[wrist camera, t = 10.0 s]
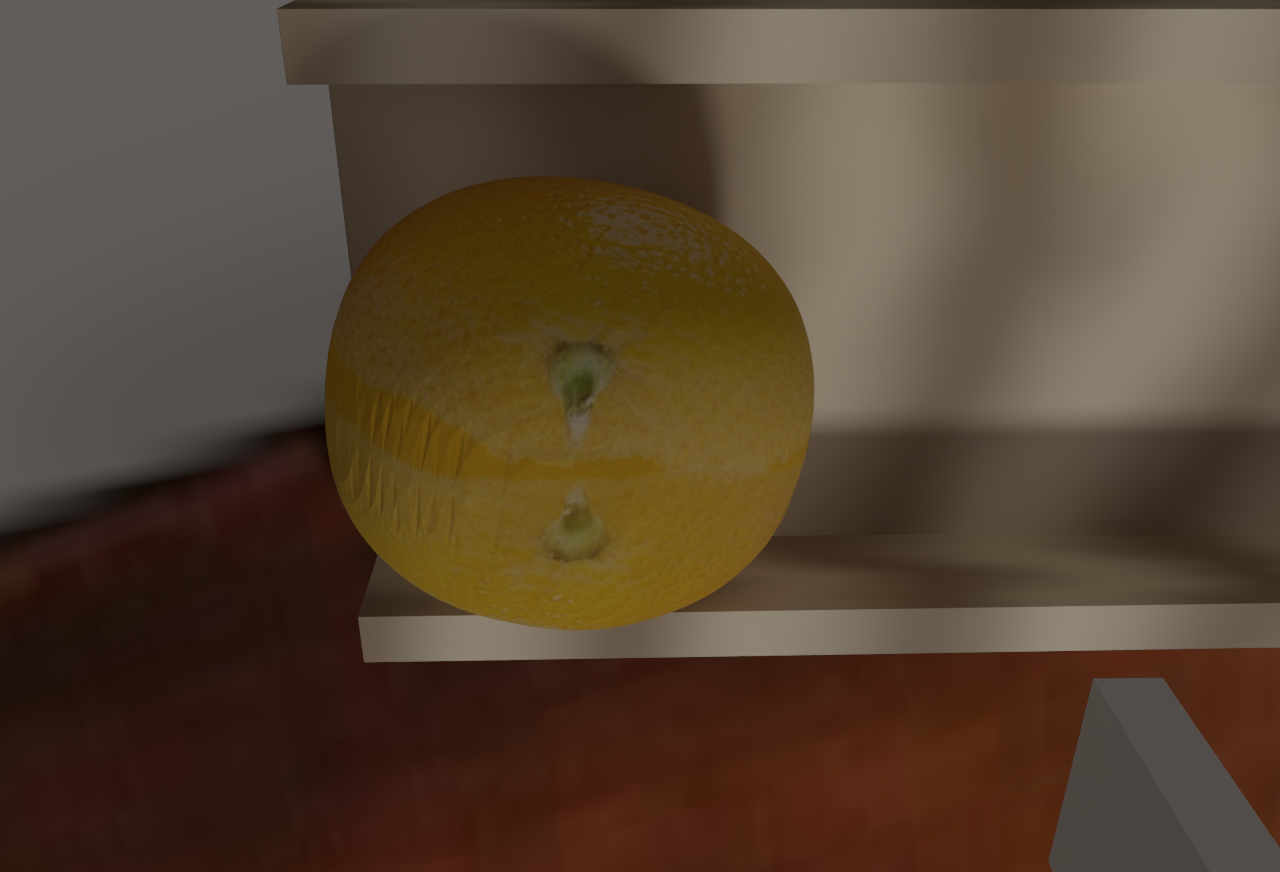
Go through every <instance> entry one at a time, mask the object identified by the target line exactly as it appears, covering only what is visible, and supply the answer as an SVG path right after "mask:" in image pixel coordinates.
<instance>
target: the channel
mask: <svg viewBox="0 0 1280 872" xmlns="http://www.w3.org/2000/svg"><path fill="white" fill-rule="evenodd" d="M277 12H278V20H279V28H280V36H281V43H282V50H283V58H284V66H285V73H286V81H287V84H329V91H330V101H331V109H332V117H333V125H334V135H335V142H336V152H337V159H338V168H339V177H340V185H341V194H342V203H343V211H344V220H345V228H346V237H347V245H348V253H349V262H350V270H351V279H352V277H353V275H354V273H355V271H356V270H357V268H358V266H359V265H360V263H361V262H362V260H363V259H364V257H365V256H366V255H367V253H368V252H369V251H370V249H371V248H372V247H373V246H374V244H375V243H376V242H377V241H378V240H379V239H380V238H381V237H382V236H383V235H384V234H385V233H386V232H387V231H388V230H389V229H390V228H392V227H393V226H394V225H395V224H396V223H398V222H399V221H400V220H402V219H403V218H404V217H406V216H407V215H409V214H410V213H412V212H413V211H415V210H416V209H418V208H420V207H421V206H423V205H425V204H427V203H429V202H431V201H432V200H434V199H437V198H439V197H441V196H443V195H445V194H448V193H450V192H453V191H456V190H458V189H462V188H465V187H468V186H471V185H475V184H479V183H484V182H489V181H494V180H500V179H507V178H514V177H531V176H554V177H573V178H583V179H592V180H599V181H604V182H610V183H615V184H620V185H625V186H629V187H633V188H637V189H640V190H644V191H648V192H651V193H655V194H658V195H661V196H664V197H667V198H669V199H672V200H674V201H677V202H680V203H682V204H685V205H687V206H689V207H691V208H694V209H696V210H698V211H700V212H702V213H704V214H706V215H708V216H710V217H712V218H714V219H715V220H717V221H719V222H720V223H722V224H724V225H725V226H727V227H728V228H730V229H731V230H733V231H734V232H736V233H737V234H738V235H740V236H741V237H742V238H744V239H745V240H746V241H747V242H749V243H750V244H751V245H752V246H753V247H754V248H755V249H756V250H757V251H758V252H759V253H760V254H761V255H762V256H763V257H764V258H765V259H766V260H767V261H768V262H769V263H770V264H771V266H772V267H773V268H774V269H775V271H776V272H777V273H778V274H779V276H780V277H781V279H782V280H783V282H784V283H785V285H786V286H787V288H788V290H789V291H790V293H791V295H792V297H793V299H794V300H795V302H796V304H797V307H798V309H799V312H800V314H801V317H802V320H803V323H804V326H805V329H806V332H807V336H808V340H809V344H810V349H811V355H812V362H813V371H814V411H813V417H812V426H811V432H810V437H809V443H808V447H807V451H806V456H805V460H804V465H803V467H802V470H801V473H800V476H799V479H798V481H797V484H796V487H795V490H794V492H793V495H792V498H791V501H790V503H789V506H788V508H787V510H786V512H785V515H784V517H783V519H782V521H781V522H780V524H779V526H778V528H777V529H776V531H775V532H774V534H773V536H772V537H771V539H770V540H769V542H768V543H767V545H766V546H765V547H764V548H763V549H762V550H761V552H760V553H759V554H758V555H757V556H756V557H755V559H754V560H753V561H752V562H751V563H750V564H748V565H747V566H746V567H745V568H744V569H743V570H742V571H741V572H740V573H739V574H737V575H736V576H735V577H734V578H733V579H731V580H730V581H729V582H727V583H726V584H725V585H723V586H722V587H721V588H719V589H717V590H716V591H714V592H713V593H711V594H710V595H708V596H706V597H704V598H702V599H700V600H698V601H697V602H695V603H693V604H691V605H688V606H686V607H683V608H681V609H678V610H676V611H673V612H671V613H668V614H665V615H662V616H659V617H657V618H653V619H650V620H646V621H642V622H638V623H634V624H631V625H625V626H619V627H613V628H607V629H596V630H558V629H546V628H538V627H531V626H525V625H520V624H515V623H510V622H505V621H499V620H495V619H491V618H487V617H484V616H480V615H476V614H472V613H470V612H467V611H464V610H462V609H459V608H456V607H454V606H452V605H449V604H447V603H445V602H443V601H440V600H438V599H436V598H435V597H433V596H431V595H429V594H427V593H426V592H424V591H422V590H421V589H419V588H418V587H416V586H415V585H413V584H412V583H410V582H409V581H407V580H406V579H405V578H403V577H402V576H401V575H400V574H398V573H397V572H396V571H395V570H394V569H392V568H391V567H390V566H389V565H388V564H387V563H386V562H385V561H384V560H383V559H382V558H381V557H380V556H379V555H378V556H377V559H376V563H375V566H374V569H373V572H372V575H371V578H370V581H369V585H368V588H367V591H366V594H365V597H364V600H363V603H362V607H361V610H360V613H359V616H358V620H359V627H360V635H361V642H362V650H363V657H364V662H407V661H468V660H529V659H591V658H652V657H713V656H774V655H836V654H897V653H958V652H1019V651H1080V650H1142V649H1203V648H1264V647H1280V0H295V1H293V2H291V3H288V4H286V5H285V6H282V7H280V8H278V9H277Z"/></svg>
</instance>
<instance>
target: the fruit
mask: <svg viewBox="0 0 1280 872" xmlns="http://www.w3.org/2000/svg"><path fill="white" fill-rule="evenodd" d="M327 362H328V363H327V370H326V381H325V428H326V440H327V447H328V454H329V460H330V465H331V469H332V474H333V477H334V480H335V483H336V486H337V489H338V492H339V495H340V497H341V500H342V502H343V504H344V506H345V508H346V510H347V512H348V514H349V516H350V518H351V520H352V521H353V523H354V525H355V526H356V528H357V529H358V531H359V532H360V534H361V535H362V536H363V538H364V539H365V540H366V541H367V543H368V544H369V545H370V546H371V548H372V549H373V550H374V551H375V552H376V553H377V554H378V555H379V556H380V557H381V558H382V559H383V560H384V561H385V562H386V563H387V564H388V565H389V566H390V567H391V568H392V569H394V570H395V571H396V572H397V573H398V574H400V575H401V576H402V577H403V578H405V579H406V580H407V581H409V582H410V583H412V584H413V585H415V586H416V587H418V588H419V589H421V590H422V591H424V592H426V593H427V594H429V595H431V596H433V597H435V598H436V599H438V600H440V601H443V602H445V603H447V604H449V605H452V606H454V607H456V608H459V609H462V610H464V611H467V612H470V613H472V614H476V615H480V616H484V617H487V618H491V619H495V620H499V621H505V622H510V623H515V624H520V625H525V626H531V627H538V628H546V629H558V630H596V629H607V628H613V627H619V626H625V625H631V624H634V623H638V622H642V621H646V620H650V619H653V618H657V617H659V616H662V615H665V614H668V613H671V612H673V611H676V610H678V609H681V608H683V607H686V606H688V605H691V604H693V603H695V602H697V601H698V600H700V599H702V598H704V597H706V596H708V595H710V594H711V593H713V592H714V591H716V590H717V589H719V588H721V587H722V586H723V585H725V584H726V583H727V582H729V581H730V580H731V579H733V578H734V577H735V576H736V575H737V574H739V573H740V572H741V571H742V570H743V569H744V568H745V567H746V566H747V565H748V564H750V563H751V562H752V561H753V560H754V559H755V557H756V556H757V555H758V554H759V553H760V552H761V550H762V549H763V548H764V547H765V546H766V545H767V543H768V542H769V540H770V539H771V537H772V536H773V534H774V532H775V531H776V529H777V528H778V526H779V524H780V522H781V521H782V519H783V517H784V515H785V512H786V510H787V508H788V506H789V503H790V501H791V498H792V495H793V492H794V490H795V487H796V484H797V481H798V479H799V476H800V473H801V470H802V467H803V465H804V460H805V456H806V451H807V447H808V443H809V437H810V432H811V426H812V417H813V411H814V371H813V362H812V355H811V349H810V344H809V340H808V336H807V332H806V329H805V326H804V323H803V320H802V317H801V314H800V312H799V309H798V307H797V304H796V302H795V300H794V299H793V297H792V295H791V293H790V291H789V290H788V288H787V286H786V285H785V283H784V282H783V280H782V279H781V277H780V276H779V274H778V273H777V272H776V271H775V269H774V268H773V267H772V266H771V264H770V263H769V262H768V261H767V260H766V259H765V258H764V257H763V256H762V255H761V254H760V253H759V252H758V251H757V250H756V249H755V248H754V247H753V246H752V245H751V244H750V243H749V242H747V241H746V240H745V239H744V238H742V237H741V236H740V235H738V234H737V233H736V232H734V231H733V230H731V229H730V228H728V227H727V226H725V225H724V224H722V223H720V222H719V221H717V220H715V219H714V218H712V217H710V216H708V215H706V214H704V213H702V212H700V211H698V210H696V209H694V208H691V207H689V206H687V205H685V204H682V203H680V202H677V201H674V200H672V199H669V198H667V197H664V196H661V195H658V194H655V193H651V192H648V191H644V190H640V189H637V188H633V187H629V186H625V185H620V184H615V183H610V182H604V181H599V180H592V179H583V178H573V177H554V176H531V177H514V178H507V179H500V180H494V181H489V182H484V183H479V184H475V185H471V186H468V187H465V188H462V189H458V190H456V191H453V192H450V193H448V194H445V195H443V196H441V197H439V198H437V199H434V200H432V201H431V202H429V203H427V204H425V205H423V206H421V207H420V208H418V209H416V210H415V211H413V212H412V213H410V214H409V215H407V216H406V217H404V218H403V219H402V220H400V221H399V222H398V223H396V224H395V225H394V226H393V227H392V228H390V229H389V230H388V231H387V232H386V233H385V234H384V235H383V236H382V237H381V238H380V239H379V240H378V241H377V242H376V243H375V244H374V246H373V247H372V248H371V249H370V251H369V252H368V253H367V255H366V256H365V257H364V259H363V260H362V262H361V263H360V265H359V266H358V268H357V270H356V271H355V273H354V275H353V277H352V279H351V281H350V283H349V285H348V287H347V289H346V291H345V294H344V296H343V299H342V302H341V305H340V308H339V311H338V314H337V317H336V320H335V324H334V327H333V331H332V336H331V342H330V346H329V352H328V361H327Z"/></svg>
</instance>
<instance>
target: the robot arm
mask: <svg viewBox="0 0 1280 872" xmlns="http://www.w3.org/2000/svg"><path fill="white" fill-rule="evenodd" d="M1049 864H1050V866H1051V869H1052V871H1053V872H1280V848H1279V846H1278V845H1277V844H1276V842H1275V841H1274V839H1273V838H1272V836H1271V835H1270V833H1269V832H1268V830H1267V829H1266V828H1265V826H1264V825H1263V823H1262V822H1261V820H1260V819H1259V817H1258V816H1257V814H1256V813H1255V812H1254V810H1253V809H1252V807H1251V806H1250V804H1249V803H1248V801H1247V800H1246V798H1245V797H1244V796H1243V794H1242V793H1241V791H1240V790H1239V788H1238V787H1237V785H1236V784H1235V782H1234V781H1233V780H1232V778H1231V777H1230V775H1229V774H1228V772H1227V771H1226V769H1225V768H1224V766H1223V765H1222V764H1221V762H1220V761H1219V759H1218V758H1217V756H1216V755H1215V753H1214V752H1213V751H1212V749H1211V748H1210V746H1209V745H1208V743H1207V742H1206V740H1205V739H1204V737H1203V736H1202V735H1201V733H1200V732H1199V730H1198V729H1197V727H1196V726H1195V724H1194V723H1193V721H1192V720H1191V719H1190V717H1189V716H1188V714H1187V713H1186V711H1185V710H1184V708H1183V707H1182V705H1181V704H1180V703H1179V701H1178V700H1177V698H1176V697H1175V695H1174V694H1173V692H1172V691H1171V689H1170V688H1169V687H1168V685H1167V684H1166V682H1165V681H1164V679H1163V678H1112V679H1093V682H1092V686H1091V691H1090V695H1089V699H1088V703H1087V707H1086V711H1085V715H1084V719H1083V723H1082V727H1081V731H1080V735H1079V740H1078V744H1077V748H1076V752H1075V756H1074V760H1073V764H1072V768H1071V772H1070V776H1069V780H1068V784H1067V788H1066V793H1065V797H1064V801H1063V805H1062V809H1061V813H1060V817H1059V821H1058V825H1057V829H1056V833H1055V837H1054V841H1053V846H1052V850H1051V854H1050V858H1049Z"/></svg>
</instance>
